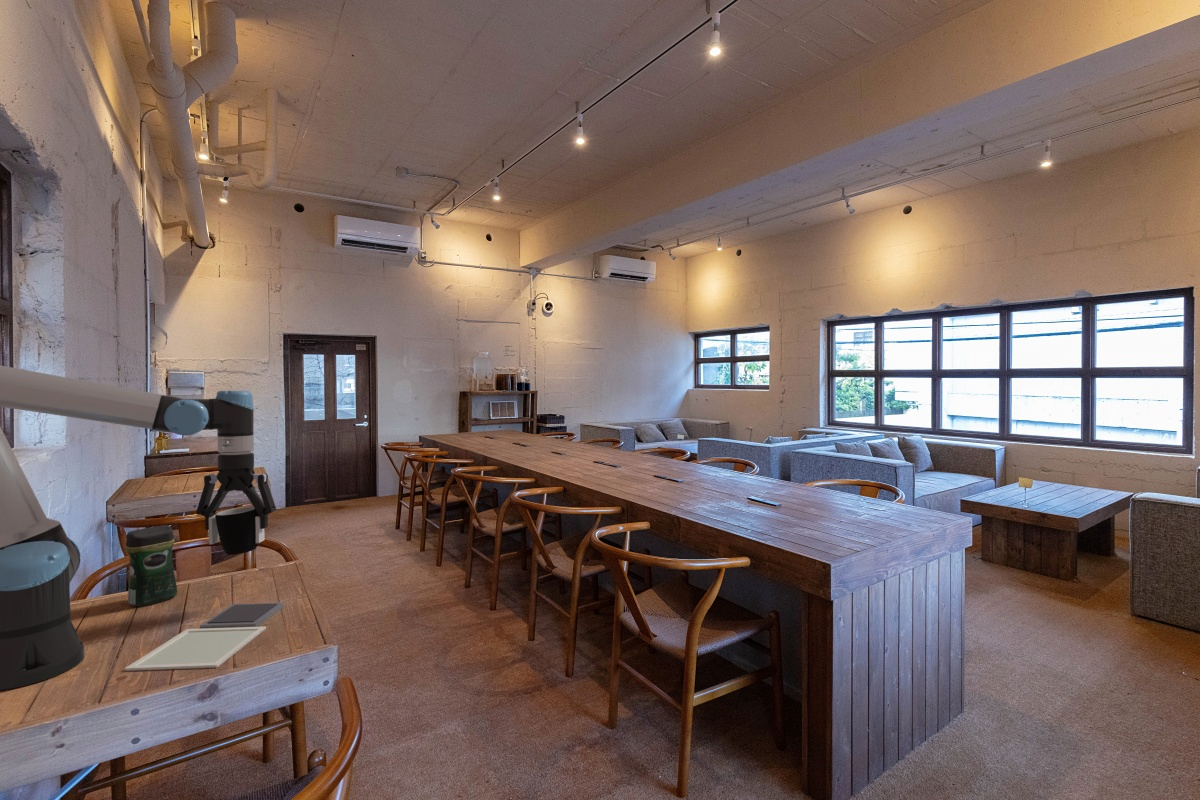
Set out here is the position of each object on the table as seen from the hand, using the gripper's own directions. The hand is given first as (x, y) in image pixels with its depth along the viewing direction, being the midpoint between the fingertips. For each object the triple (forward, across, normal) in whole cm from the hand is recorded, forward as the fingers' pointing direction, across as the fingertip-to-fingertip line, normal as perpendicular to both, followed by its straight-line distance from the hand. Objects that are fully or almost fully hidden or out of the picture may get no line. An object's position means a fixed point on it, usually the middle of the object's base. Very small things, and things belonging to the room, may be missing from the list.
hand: (237, 542), depth 138 cm
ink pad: (+15, +6, -9) cm, 19 cm away
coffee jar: (+16, -23, +5) cm, 29 cm away
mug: (+2, 0, 0) cm, 2 cm away
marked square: (+15, +5, -24) cm, 29 cm away
